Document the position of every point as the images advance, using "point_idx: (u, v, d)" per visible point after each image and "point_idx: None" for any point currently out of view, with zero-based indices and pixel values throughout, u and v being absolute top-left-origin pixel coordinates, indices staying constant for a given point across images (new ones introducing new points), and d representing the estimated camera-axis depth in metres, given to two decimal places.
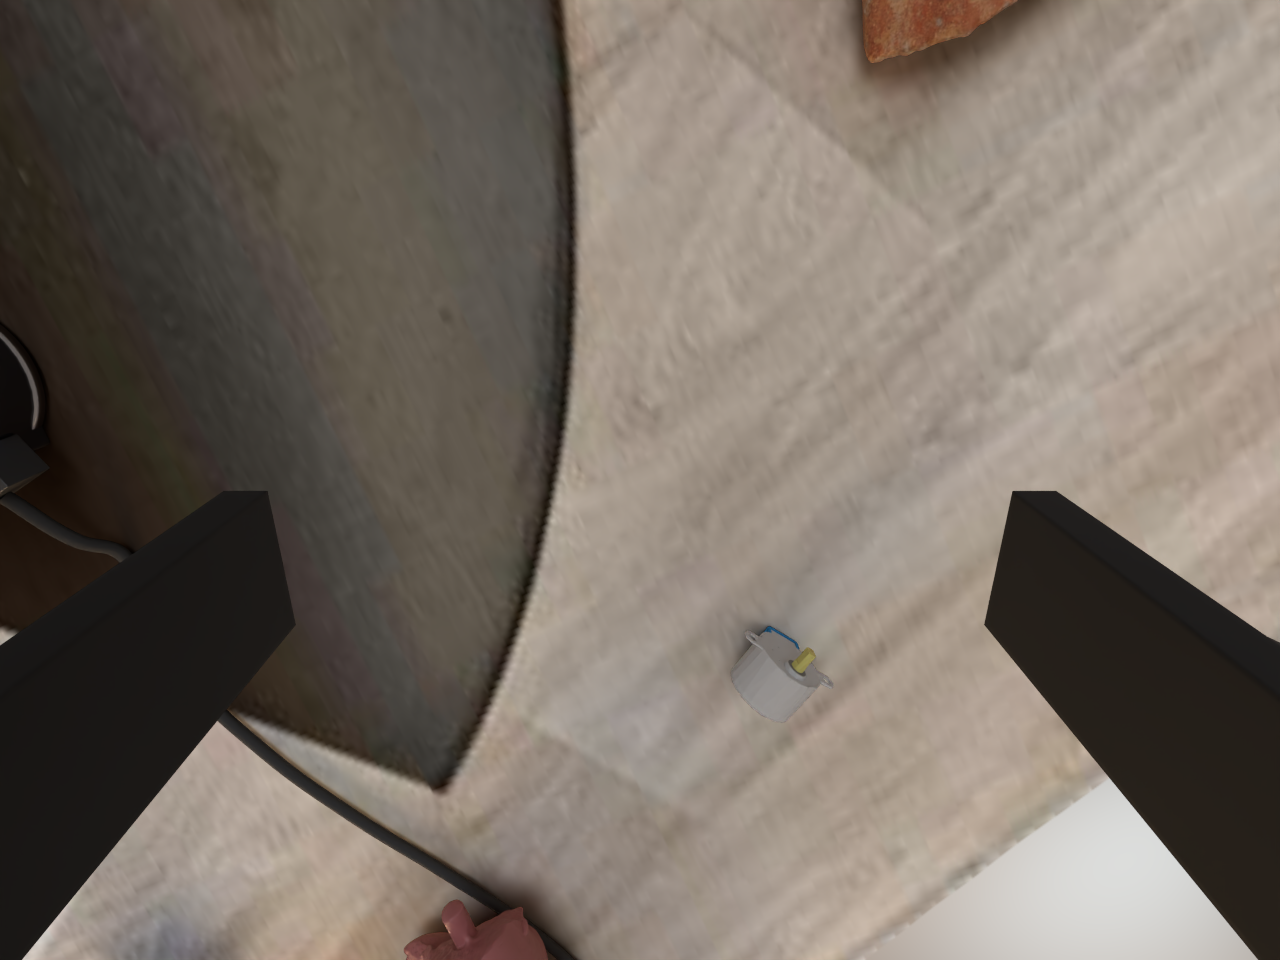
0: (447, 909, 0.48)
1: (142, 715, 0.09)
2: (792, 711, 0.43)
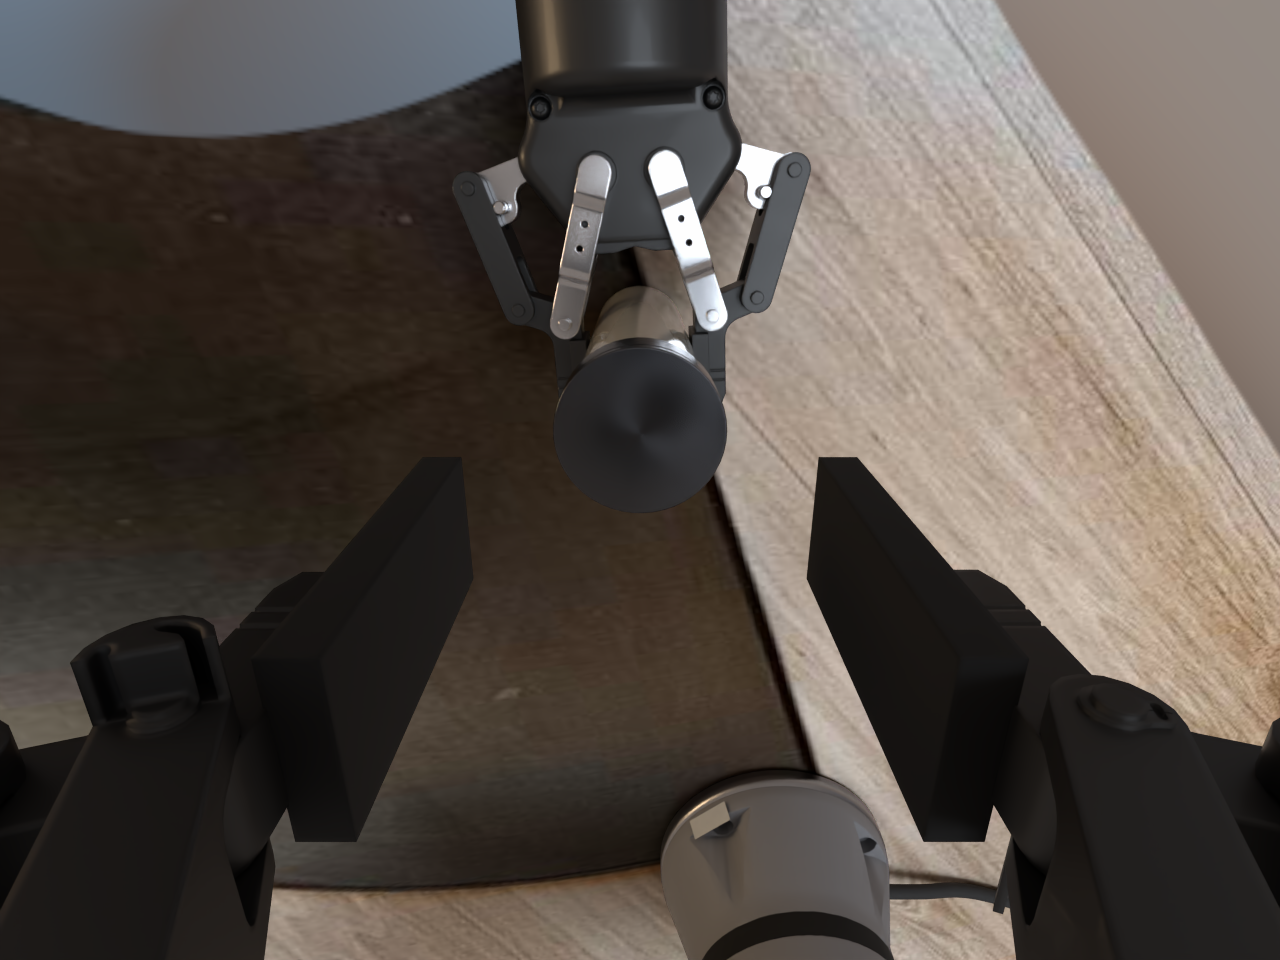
0: None
1: (410, 637, 0.11)
2: None
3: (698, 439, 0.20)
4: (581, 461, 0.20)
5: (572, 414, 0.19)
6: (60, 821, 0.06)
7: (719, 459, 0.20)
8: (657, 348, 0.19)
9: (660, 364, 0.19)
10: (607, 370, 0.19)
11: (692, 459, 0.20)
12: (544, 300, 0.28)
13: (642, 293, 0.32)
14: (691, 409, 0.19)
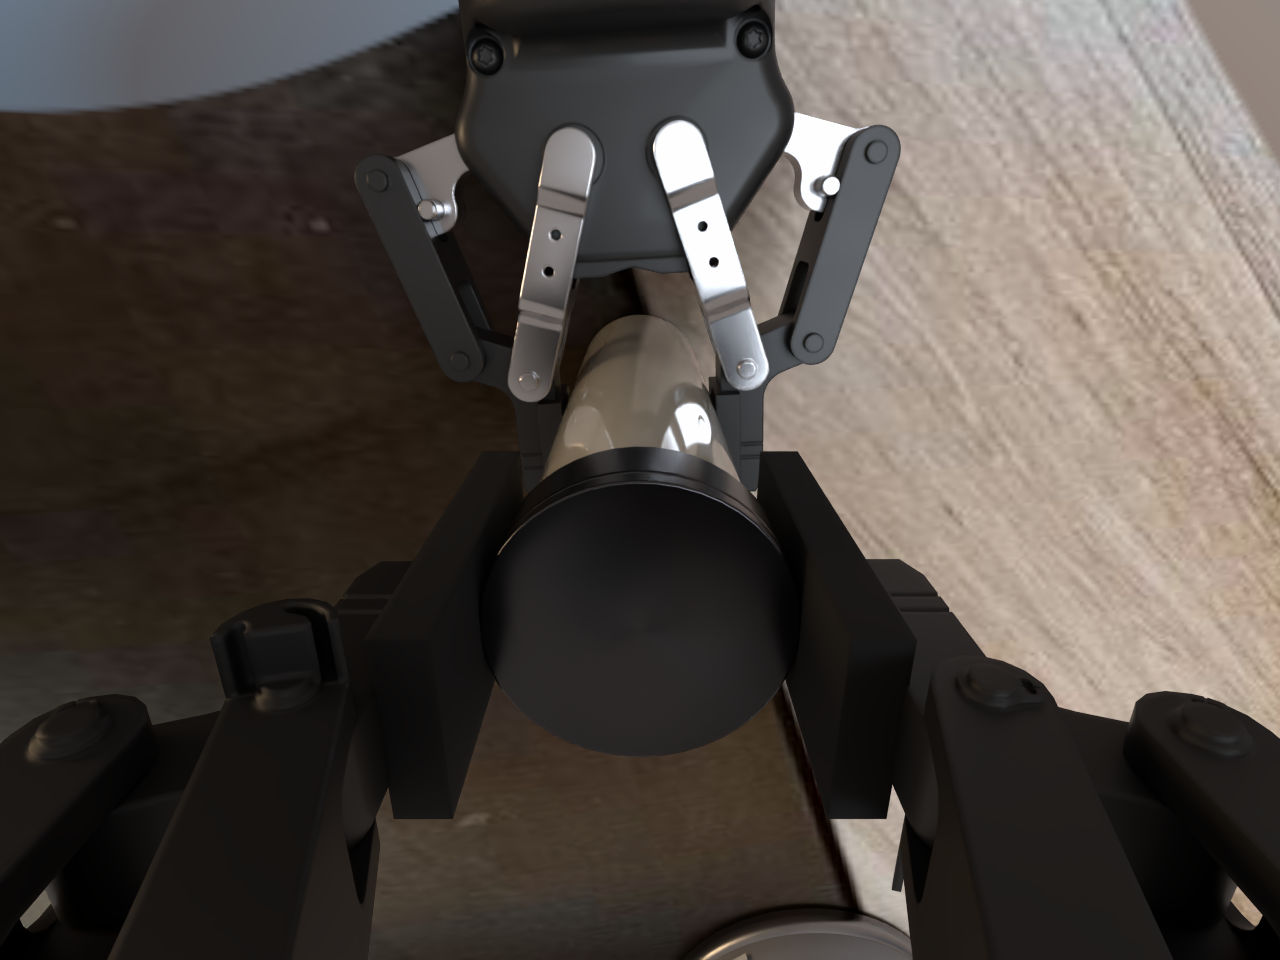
0: None
1: None
2: None
3: (748, 639, 0.11)
4: (532, 675, 0.11)
5: (513, 598, 0.10)
6: (199, 788, 0.06)
7: (785, 672, 0.11)
8: (673, 482, 0.10)
9: (679, 512, 0.10)
10: (577, 522, 0.10)
11: (736, 672, 0.11)
12: (499, 346, 0.19)
13: (643, 328, 0.23)
14: (736, 589, 0.10)
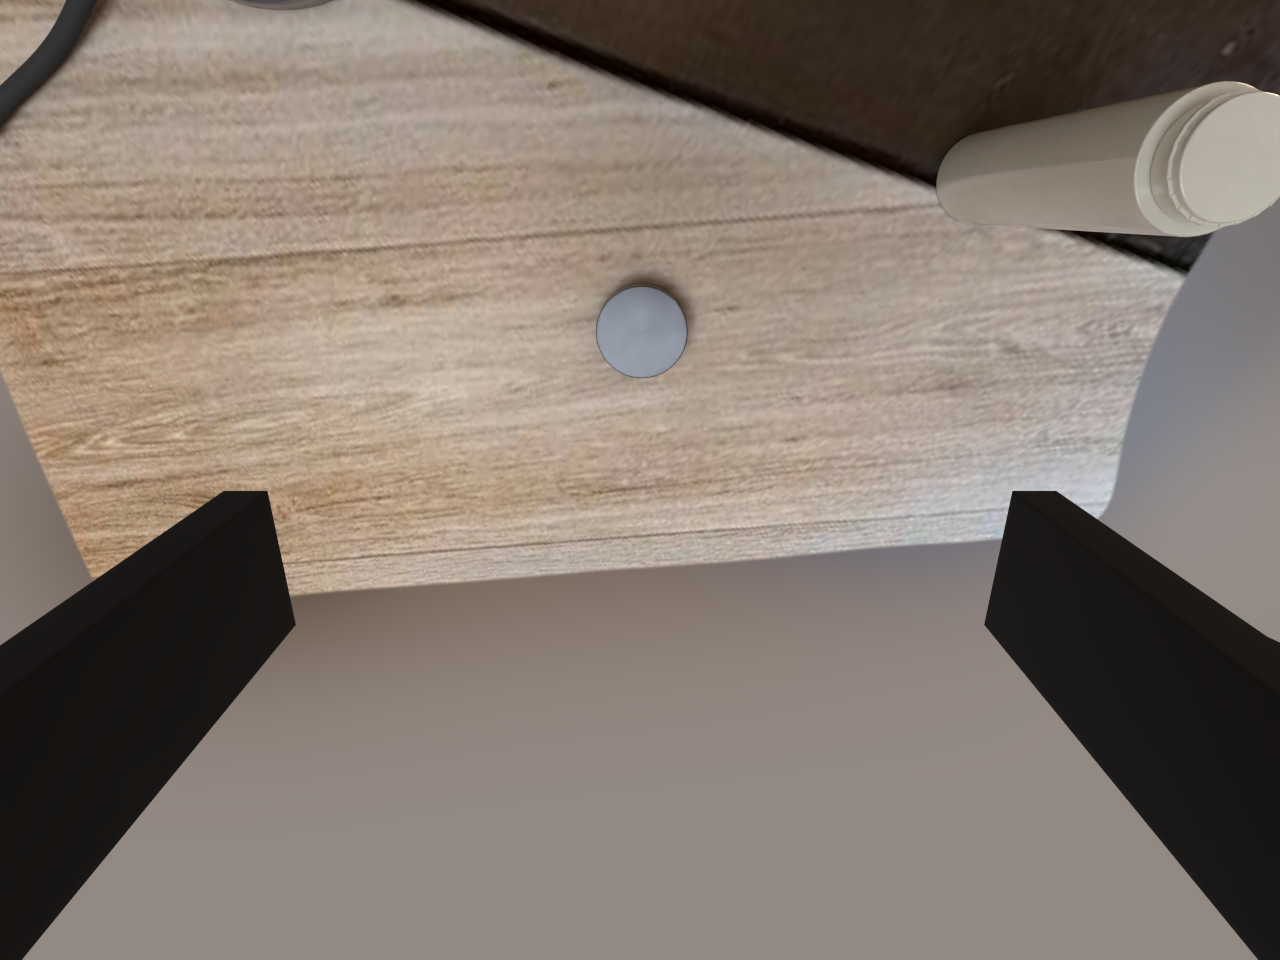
0: None
1: (142, 715, 0.09)
2: None
3: (631, 362, 0.38)
4: (634, 298, 0.36)
5: (660, 301, 0.36)
6: None
7: (618, 370, 0.38)
8: (682, 352, 0.38)
9: (674, 352, 0.37)
10: (678, 325, 0.37)
11: (621, 356, 0.38)
12: None
13: None
14: (648, 362, 0.38)
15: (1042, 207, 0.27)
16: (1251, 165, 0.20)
